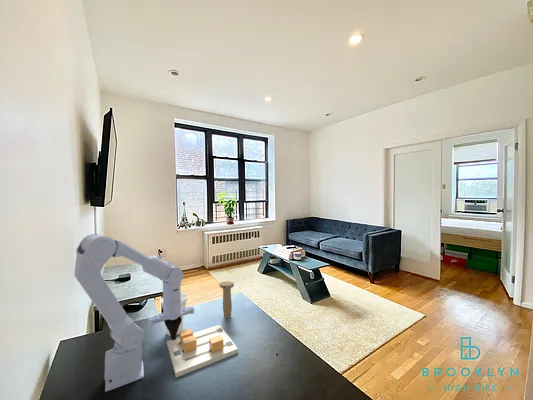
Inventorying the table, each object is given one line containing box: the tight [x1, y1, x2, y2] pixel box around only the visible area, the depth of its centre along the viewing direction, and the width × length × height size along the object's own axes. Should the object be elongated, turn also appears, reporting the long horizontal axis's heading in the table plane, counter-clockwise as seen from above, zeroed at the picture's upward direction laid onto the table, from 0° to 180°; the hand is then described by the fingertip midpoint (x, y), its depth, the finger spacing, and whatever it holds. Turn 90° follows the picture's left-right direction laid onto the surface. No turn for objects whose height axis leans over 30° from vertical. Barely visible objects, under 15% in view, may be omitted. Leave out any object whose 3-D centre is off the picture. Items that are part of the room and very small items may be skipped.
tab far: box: [179, 328, 194, 345], centre depth 83 cm, size 4×3×3 cm
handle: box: [219, 280, 235, 319], centre depth 102 cm, size 5×6×15 cm
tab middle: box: [182, 335, 197, 353], centre depth 78 cm, size 4×3×3 cm
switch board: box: [166, 324, 239, 379], centre depth 80 cm, size 20×18×2 cm
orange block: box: [209, 335, 224, 352], centre depth 78 cm, size 4×3×3 cm
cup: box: [159, 292, 189, 337], centre depth 92 cm, size 10×10×14 cm
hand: (173, 338), depth 80 cm, fingers closed
